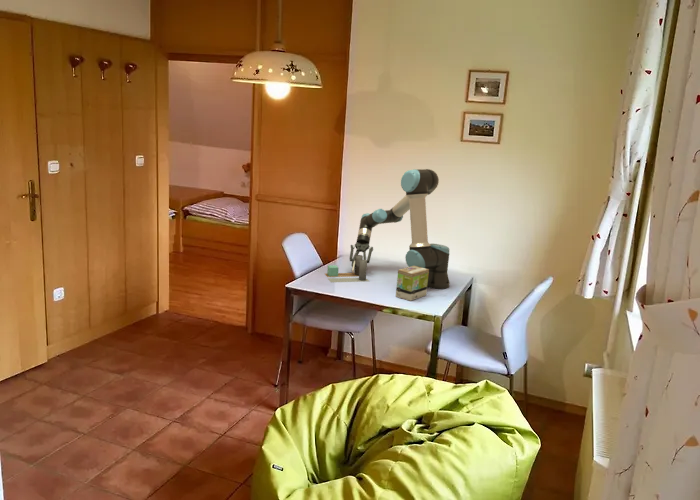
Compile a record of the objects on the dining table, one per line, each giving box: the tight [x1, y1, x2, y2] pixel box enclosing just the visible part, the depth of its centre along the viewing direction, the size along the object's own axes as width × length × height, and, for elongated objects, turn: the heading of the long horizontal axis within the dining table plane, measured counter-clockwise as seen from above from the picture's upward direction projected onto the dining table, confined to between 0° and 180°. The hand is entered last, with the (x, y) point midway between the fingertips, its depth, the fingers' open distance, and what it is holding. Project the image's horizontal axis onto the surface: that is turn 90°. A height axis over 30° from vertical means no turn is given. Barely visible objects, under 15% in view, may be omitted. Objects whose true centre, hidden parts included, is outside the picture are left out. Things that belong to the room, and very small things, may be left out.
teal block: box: [326, 264, 340, 276], centre depth 347 cm, size 5×5×5 cm
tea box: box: [395, 266, 429, 302], centre depth 320 cm, size 15×10×15 cm, turn 141°
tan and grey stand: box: [324, 254, 364, 278], centre depth 348 cm, size 7×22×12 cm, turn 106°
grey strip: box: [327, 259, 370, 283], centre depth 339 cm, size 7×22×12 cm, turn 106°
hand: (357, 272), depth 347 cm, fingers closed on tan and grey stand, 4 cm apart
